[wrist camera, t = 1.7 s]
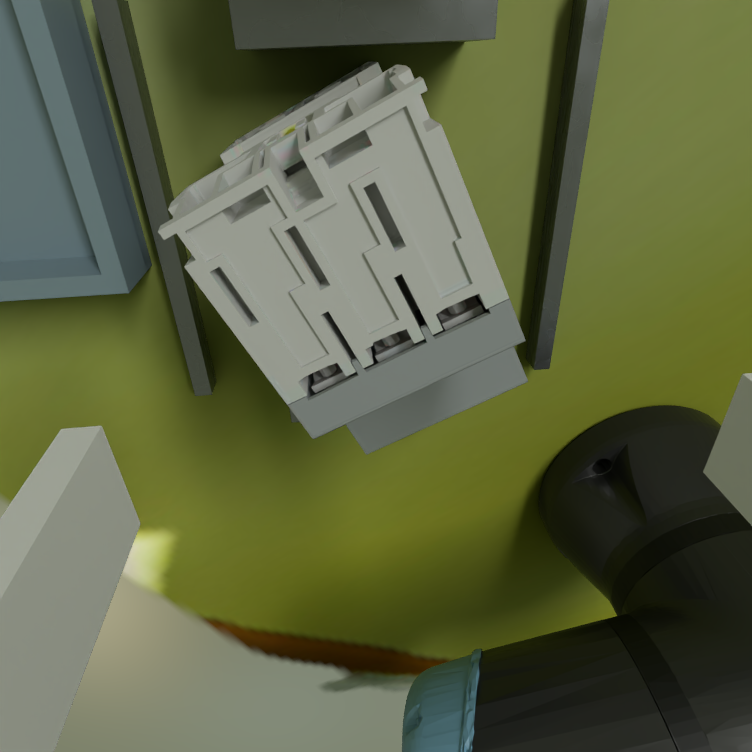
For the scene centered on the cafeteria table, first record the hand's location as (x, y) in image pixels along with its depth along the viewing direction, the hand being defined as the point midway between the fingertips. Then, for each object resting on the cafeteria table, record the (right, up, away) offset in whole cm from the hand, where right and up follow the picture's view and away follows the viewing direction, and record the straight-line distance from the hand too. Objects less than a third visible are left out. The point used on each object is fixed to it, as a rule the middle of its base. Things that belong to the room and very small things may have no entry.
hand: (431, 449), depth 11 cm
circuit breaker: (-2, +10, +18) cm, 20 cm away
